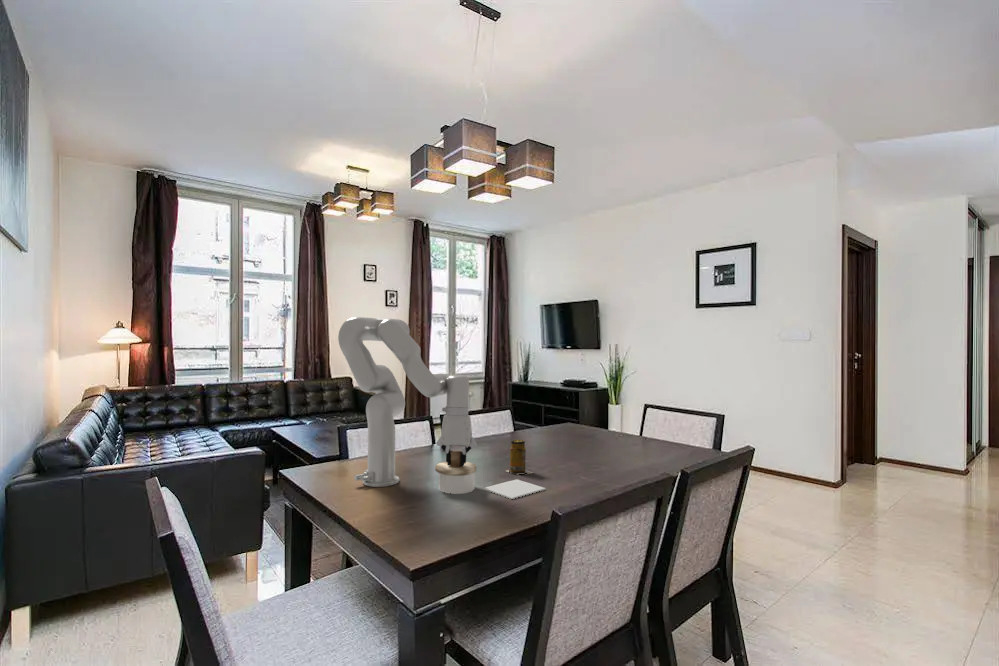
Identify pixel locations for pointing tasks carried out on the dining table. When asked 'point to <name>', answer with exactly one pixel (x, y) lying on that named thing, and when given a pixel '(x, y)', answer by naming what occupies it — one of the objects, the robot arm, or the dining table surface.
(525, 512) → the dining table surface
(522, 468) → the condiment
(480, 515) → the dining table surface
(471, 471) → the lid
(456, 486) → the bowl
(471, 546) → the dining table surface
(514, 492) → the mat
